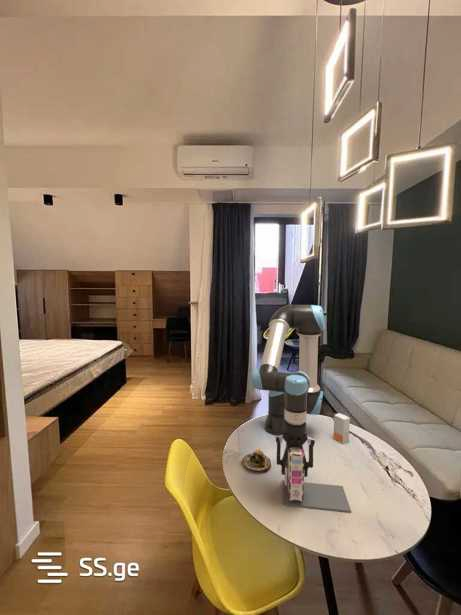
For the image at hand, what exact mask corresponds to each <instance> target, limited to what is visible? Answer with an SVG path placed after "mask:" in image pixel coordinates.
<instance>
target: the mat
mask: <svg viewBox="0 0 461 615" xmlns="http://www.w3.org/2000/svg"><path fill="white" fill-rule="evenodd" d="M281 487H282V488H281V489H282V492H281V493H282V506H284V507H285V506H286V507H295V508H296V507H297V508H305V509H312V510H314V509H315V510H322V511H332V512H343V513H352V510H351V506H350V503H349V500H348V498H347V495H346V492H345V489H344V486H343V485H335V484H327V483H326V484H325V483H315V482H306V481H304V487H303V501H290V500H289V495H288V489H287V485H285V481H284V479H283V480H281Z"/></svg>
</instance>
